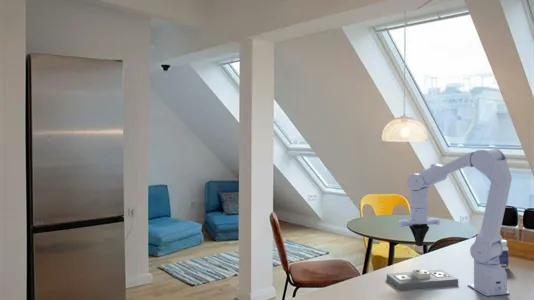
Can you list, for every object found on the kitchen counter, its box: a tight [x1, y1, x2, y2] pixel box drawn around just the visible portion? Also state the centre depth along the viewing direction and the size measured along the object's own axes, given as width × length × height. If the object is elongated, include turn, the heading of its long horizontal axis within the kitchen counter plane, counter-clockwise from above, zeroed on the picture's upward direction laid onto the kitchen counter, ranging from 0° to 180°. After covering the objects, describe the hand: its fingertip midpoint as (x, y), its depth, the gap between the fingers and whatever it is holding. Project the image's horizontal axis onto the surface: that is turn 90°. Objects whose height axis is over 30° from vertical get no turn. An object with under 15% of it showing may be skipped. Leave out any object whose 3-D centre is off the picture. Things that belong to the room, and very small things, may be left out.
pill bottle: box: [499, 238, 510, 270], centre depth 160 cm, size 6×6×10 cm
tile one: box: [395, 275, 412, 281], centre depth 146 cm, size 4×4×2 cm
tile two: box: [412, 269, 430, 279], centre depth 147 cm, size 4×4×2 cm
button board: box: [386, 269, 459, 291], centre depth 147 cm, size 10×20×2 cm, turn 99°
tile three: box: [431, 272, 449, 278], centre depth 148 cm, size 4×4×2 cm
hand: (419, 245), depth 157 cm, fingers closed
